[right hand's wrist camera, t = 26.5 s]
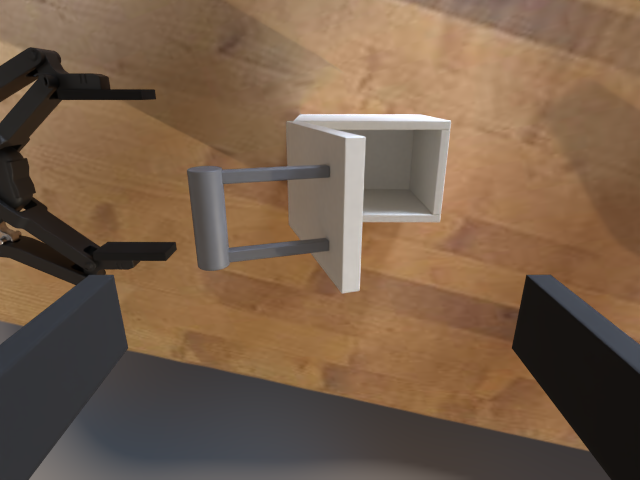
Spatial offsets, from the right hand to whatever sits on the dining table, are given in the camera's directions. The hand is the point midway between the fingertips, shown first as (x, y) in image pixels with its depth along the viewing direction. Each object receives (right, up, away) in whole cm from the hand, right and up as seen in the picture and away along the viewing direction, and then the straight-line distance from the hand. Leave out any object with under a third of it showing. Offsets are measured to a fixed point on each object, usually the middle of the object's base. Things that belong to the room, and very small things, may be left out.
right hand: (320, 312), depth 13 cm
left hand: (-14, +8, +21) cm, 27 cm away
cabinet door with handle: (0, +6, +16) cm, 17 cm away
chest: (+4, +12, +33) cm, 35 cm away
